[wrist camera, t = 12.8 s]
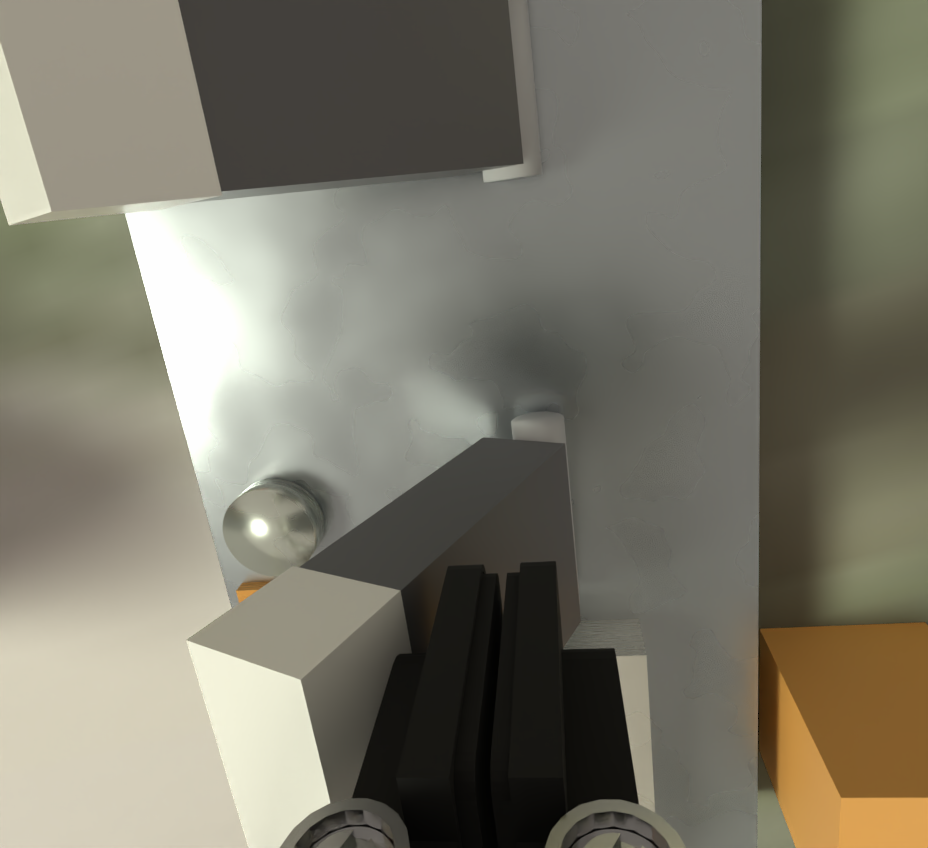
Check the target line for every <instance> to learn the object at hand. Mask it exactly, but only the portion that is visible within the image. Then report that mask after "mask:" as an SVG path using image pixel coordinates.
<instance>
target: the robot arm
mask: <svg viewBox="0 0 928 848" xmlns="http://www.w3.org/2000/svg"><path fill="white" fill-rule="evenodd" d="M280 848H686V847H685V845H684V843H683V841H682V839H681V838H680V836H679V834H678V832H677V831H676V830H675V829H674V828H672V827H671V826H670V825H669V824H668V823H667V822H666V821H665V820H664V819H663V818H662V817H661V816H660V815H658V814H656V813H654V812H653V811H651V810H649V809H647V808H646V807H644V806H642V805H639V801H638V794H637V788H636V781H635V775H634V768H633V762H632V755H631V749H630V742H629V736H628V729H627V723H626V717H625V710H624V704H623V697H622V691H621V684H620V678H619V671H618V665H617V658H616V653H615V649H614V648H599V649H563V640H562V627H561V615H560V603H559V590H558V578H557V566H556V561H545V562H522V563H520V572H511V573H507V577H506V589H505V600H504V611H503V609H502V600H501V591H500V583H499V576H498V573H489V574H486V571H485V566H484V565H483V564H478V565H455V566H448V568H447V571H446V575H445V579H444V583H443V587H442V591H441V596H440V600H439V604H438V608H437V612H436V616H435V620H434V624H433V628H432V632H431V637H430V641H429V645H428V649H427V653H409V654H399V655H397V656H396V658H395V660H394V663H393V666H392V669H391V672H390V675H389V679H388V682H387V685H386V689H385V692H384V695H383V698H382V702H381V705H380V708H379V711H378V715H377V718H376V721H375V724H374V728H373V731H372V734H371V737H370V741H369V744H368V747H367V750H366V754H365V757H364V760H363V763H362V767H361V770H360V773H359V776H358V780H357V783H356V786H355V790H354V793H353V796H352V798H348V799H345V800H341V801H337V802H333V803H330V804H327V805H326V806H324V807H322V808H320V809H318V810H316V811H314V812H313V813H311V814H309V815H308V816H307V817H306V818H305V819H304V820H302V821H301V822H300V823H299V824H298V825H297V826H295V827H294V828H293V830H292V831H291V832H290V834H289V835H288V836H287V838H286V839H285V841H284V842H283V843H282V845H281V846H280Z"/></svg>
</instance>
